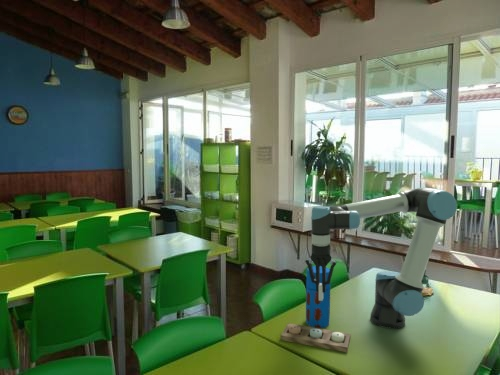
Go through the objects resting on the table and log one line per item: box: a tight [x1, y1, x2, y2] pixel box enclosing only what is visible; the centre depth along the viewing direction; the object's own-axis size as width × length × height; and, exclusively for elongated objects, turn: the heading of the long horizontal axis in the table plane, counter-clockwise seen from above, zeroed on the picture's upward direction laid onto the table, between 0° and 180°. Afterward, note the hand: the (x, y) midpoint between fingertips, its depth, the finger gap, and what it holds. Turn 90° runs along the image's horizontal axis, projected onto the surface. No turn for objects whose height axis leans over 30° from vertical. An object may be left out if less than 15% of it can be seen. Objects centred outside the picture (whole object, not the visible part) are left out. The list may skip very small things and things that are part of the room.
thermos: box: [305, 265, 331, 329], centre depth 170 cm, size 11×11×25 cm
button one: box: [331, 331, 345, 343], centre depth 152 cm, size 5×5×3 cm
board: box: [280, 323, 351, 353], centre depth 155 cm, size 27×12×2 cm, turn 69°
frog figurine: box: [421, 268, 434, 297], centre depth 208 cm, size 10×18×15 cm, turn 121°
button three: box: [289, 324, 301, 335], centre depth 158 cm, size 5×5×3 cm
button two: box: [309, 327, 322, 339], centre depth 155 cm, size 5×5×3 cm
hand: (321, 299), depth 155 cm, fingers closed
